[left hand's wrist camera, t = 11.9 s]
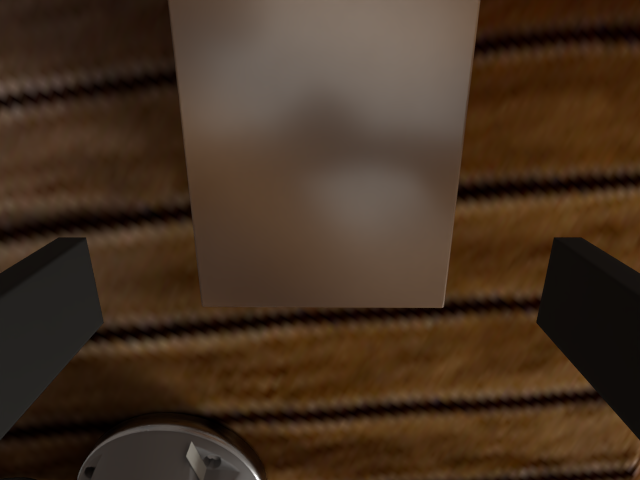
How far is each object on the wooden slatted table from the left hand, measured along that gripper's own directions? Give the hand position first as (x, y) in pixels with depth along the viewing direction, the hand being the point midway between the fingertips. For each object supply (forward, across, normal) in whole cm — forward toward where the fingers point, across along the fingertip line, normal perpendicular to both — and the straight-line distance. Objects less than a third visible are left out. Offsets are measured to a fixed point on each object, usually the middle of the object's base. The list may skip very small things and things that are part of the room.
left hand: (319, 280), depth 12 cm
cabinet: (+16, 0, -5) cm, 17 cm away
